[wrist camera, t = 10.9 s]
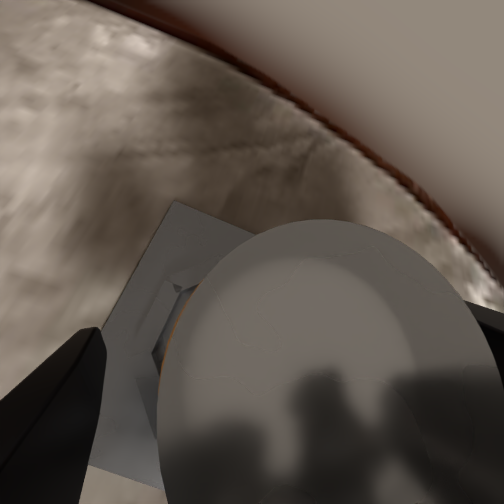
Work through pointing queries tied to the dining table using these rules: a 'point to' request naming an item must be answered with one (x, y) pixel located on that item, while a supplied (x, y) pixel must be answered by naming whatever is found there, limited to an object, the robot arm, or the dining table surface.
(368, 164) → the dining table surface
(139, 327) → the flange
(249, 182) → the dining table surface
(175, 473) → the grey cylindrical piece
